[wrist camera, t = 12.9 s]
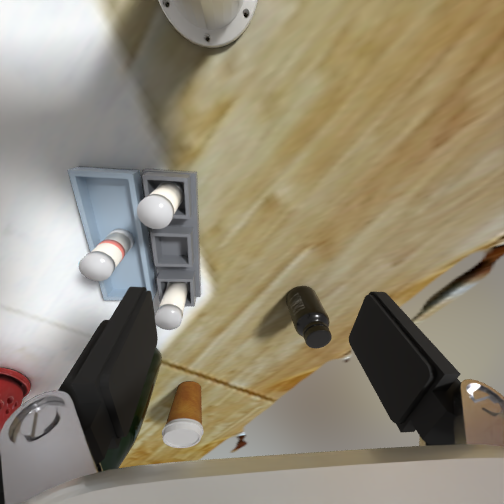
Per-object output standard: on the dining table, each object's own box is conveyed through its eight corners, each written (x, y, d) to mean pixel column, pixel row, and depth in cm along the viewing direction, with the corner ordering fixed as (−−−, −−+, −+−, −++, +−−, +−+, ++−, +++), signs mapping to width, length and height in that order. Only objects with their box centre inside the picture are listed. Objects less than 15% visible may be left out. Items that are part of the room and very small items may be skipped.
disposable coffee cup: (165, 392, 66) (153, 444, 55) (181, 373, 62) (172, 424, 52) (196, 401, 69) (190, 451, 58) (213, 383, 65) (210, 433, 55)
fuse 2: (167, 274, 46) (152, 310, 37) (189, 274, 46) (180, 310, 37) (169, 292, 48) (155, 329, 39) (190, 292, 48) (182, 329, 39)
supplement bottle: (288, 311, 55) (303, 356, 45) (282, 289, 52) (296, 331, 41) (317, 304, 55) (338, 346, 44) (313, 281, 51) (334, 321, 41)
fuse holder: (145, 168, 38) (136, 174, 34) (196, 171, 39) (193, 177, 35) (161, 292, 49) (156, 306, 45) (201, 292, 50) (198, 306, 46)
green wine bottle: (129, 333, 54) (16, 574, 25) (170, 350, 58) (113, 577, 29) (109, 359, 57) (-11, 598, 29) (149, 373, 61) (79, 597, 32)
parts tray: (79, 166, 37) (67, 170, 34) (139, 170, 38) (132, 173, 35) (110, 290, 48) (104, 300, 46) (156, 290, 49) (152, 300, 47)
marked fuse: (107, 228, 41) (75, 256, 32) (132, 228, 42) (107, 256, 33) (112, 249, 43) (83, 281, 34) (136, 249, 44) (113, 281, 35)
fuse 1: (156, 179, 37) (134, 196, 29) (183, 180, 38) (170, 197, 29) (159, 205, 39) (139, 228, 30) (185, 206, 40) (173, 229, 31)
